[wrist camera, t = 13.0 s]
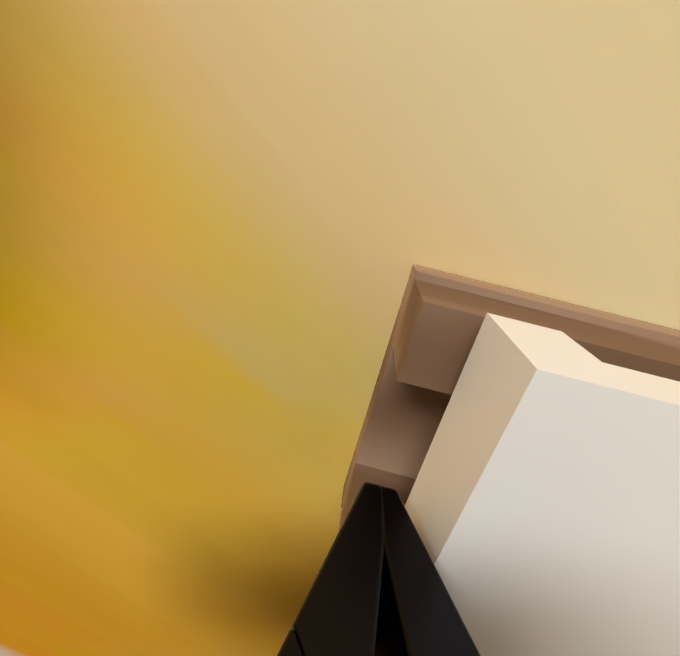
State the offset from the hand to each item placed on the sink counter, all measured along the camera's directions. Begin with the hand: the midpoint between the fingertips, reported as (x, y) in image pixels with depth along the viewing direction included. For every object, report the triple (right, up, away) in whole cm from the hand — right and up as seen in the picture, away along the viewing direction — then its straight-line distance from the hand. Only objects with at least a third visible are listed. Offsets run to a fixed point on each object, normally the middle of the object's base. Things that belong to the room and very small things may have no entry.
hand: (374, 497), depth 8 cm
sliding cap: (+4, 0, +3) cm, 5 cm away
